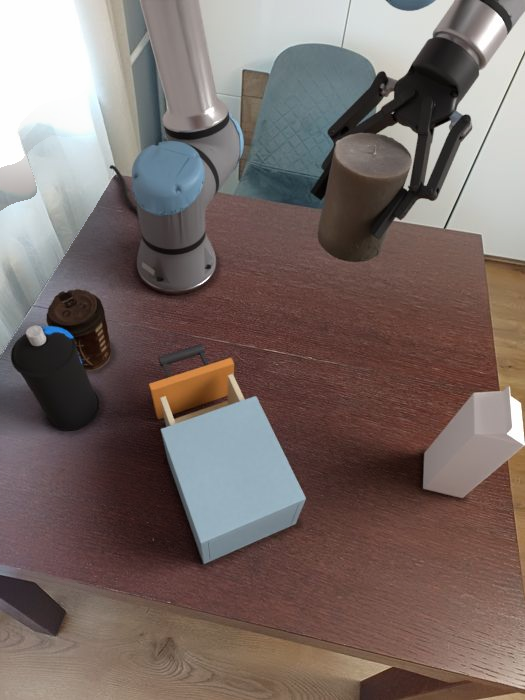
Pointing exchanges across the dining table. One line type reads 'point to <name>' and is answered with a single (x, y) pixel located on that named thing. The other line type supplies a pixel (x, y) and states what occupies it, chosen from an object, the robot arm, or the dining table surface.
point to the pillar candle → (360, 194)
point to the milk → (474, 443)
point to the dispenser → (232, 477)
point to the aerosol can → (56, 376)
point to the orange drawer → (193, 386)
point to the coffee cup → (82, 325)
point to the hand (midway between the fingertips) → (344, 215)
